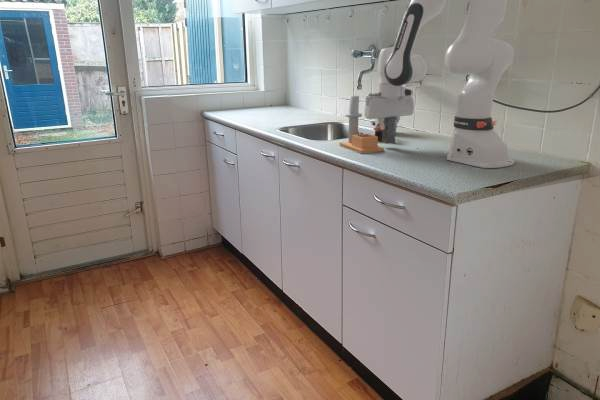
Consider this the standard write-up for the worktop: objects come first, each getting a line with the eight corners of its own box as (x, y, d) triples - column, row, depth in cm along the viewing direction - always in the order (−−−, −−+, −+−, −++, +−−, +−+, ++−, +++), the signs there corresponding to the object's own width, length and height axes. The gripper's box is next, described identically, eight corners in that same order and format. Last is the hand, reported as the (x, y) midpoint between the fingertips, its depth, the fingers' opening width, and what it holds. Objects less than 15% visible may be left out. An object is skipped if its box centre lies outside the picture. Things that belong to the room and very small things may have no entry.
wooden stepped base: (383, 150, 168) (386, 98, 162) (360, 153, 164) (362, 100, 158) (359, 142, 183) (361, 94, 177) (338, 145, 179) (338, 96, 173)
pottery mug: (365, 141, 188) (370, 123, 189) (382, 149, 192) (387, 131, 193) (383, 138, 178) (388, 119, 179) (401, 147, 182) (406, 128, 183)
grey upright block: (394, 142, 171) (395, 116, 168) (387, 143, 170) (387, 117, 167) (389, 141, 174) (390, 115, 172) (382, 142, 173) (382, 116, 170)
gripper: (370, 93, 160) (370, 132, 164) (416, 90, 168) (415, 127, 172) (361, 93, 165) (361, 130, 169) (406, 90, 173) (405, 125, 177)
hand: (388, 129), depth 171 cm, fingers closed on grey upright block, 3 cm apart
